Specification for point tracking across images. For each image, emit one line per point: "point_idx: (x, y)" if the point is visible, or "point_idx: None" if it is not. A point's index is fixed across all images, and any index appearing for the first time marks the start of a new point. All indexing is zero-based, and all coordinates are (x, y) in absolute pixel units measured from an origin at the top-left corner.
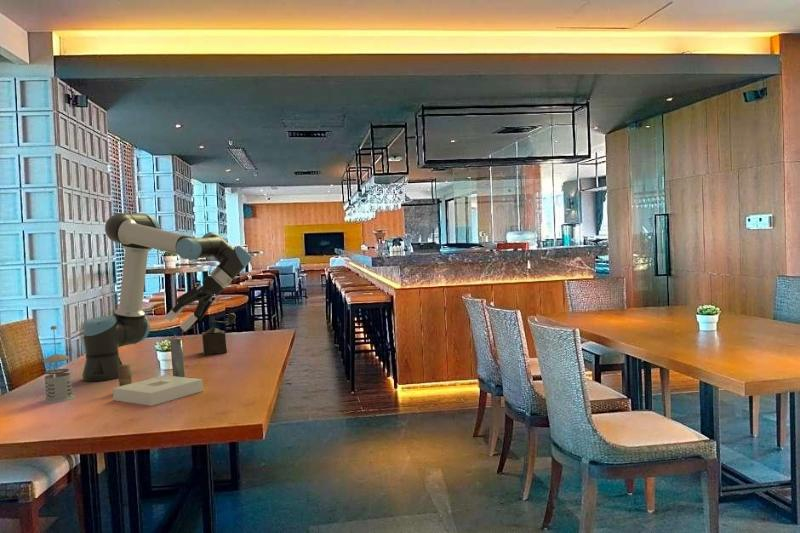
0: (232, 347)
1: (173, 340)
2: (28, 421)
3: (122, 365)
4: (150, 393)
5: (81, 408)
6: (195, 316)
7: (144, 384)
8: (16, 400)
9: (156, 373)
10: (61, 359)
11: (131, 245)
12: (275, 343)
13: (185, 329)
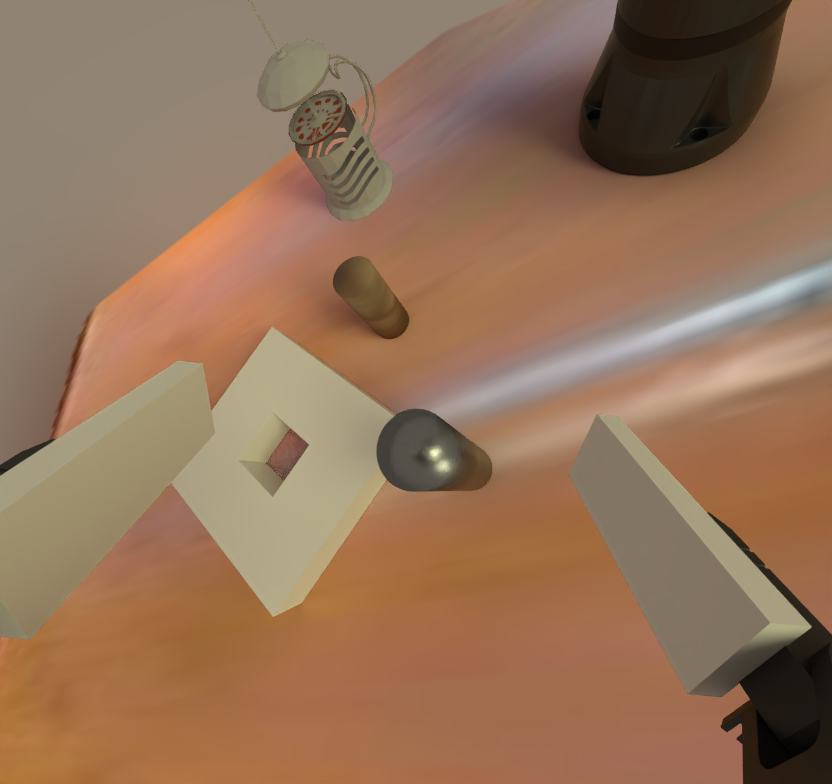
0: None
1: (379, 443)
2: (196, 255)
3: (358, 267)
4: None
5: (248, 302)
6: (763, 669)
7: (278, 408)
8: (383, 95)
9: (718, 285)
10: (265, 104)
11: None
12: None
13: (579, 484)
